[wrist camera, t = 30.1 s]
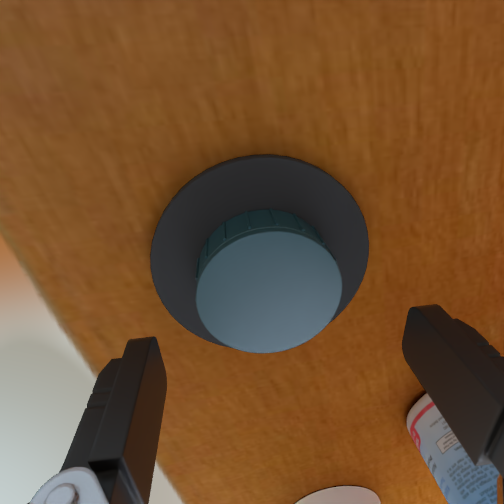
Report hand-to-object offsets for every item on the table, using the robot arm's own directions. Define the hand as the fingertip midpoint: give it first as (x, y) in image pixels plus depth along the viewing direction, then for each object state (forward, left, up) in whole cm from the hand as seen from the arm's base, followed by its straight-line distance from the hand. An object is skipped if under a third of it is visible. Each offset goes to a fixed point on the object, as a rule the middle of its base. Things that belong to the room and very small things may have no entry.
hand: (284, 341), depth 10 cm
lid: (0, 0, -3) cm, 3 cm away
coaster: (0, 0, -6) cm, 6 cm away
